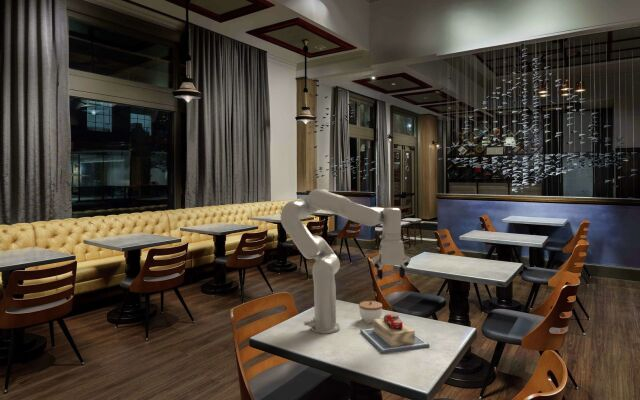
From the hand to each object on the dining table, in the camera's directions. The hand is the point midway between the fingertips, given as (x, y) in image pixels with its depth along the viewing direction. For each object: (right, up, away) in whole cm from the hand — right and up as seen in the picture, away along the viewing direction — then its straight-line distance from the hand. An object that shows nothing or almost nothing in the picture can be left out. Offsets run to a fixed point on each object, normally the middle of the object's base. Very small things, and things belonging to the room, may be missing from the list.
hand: (391, 278), depth 161 cm
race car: (0, -19, -4) cm, 19 cm away
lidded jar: (-6, -24, +18) cm, 31 cm away
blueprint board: (0, -24, -4) cm, 25 cm away
